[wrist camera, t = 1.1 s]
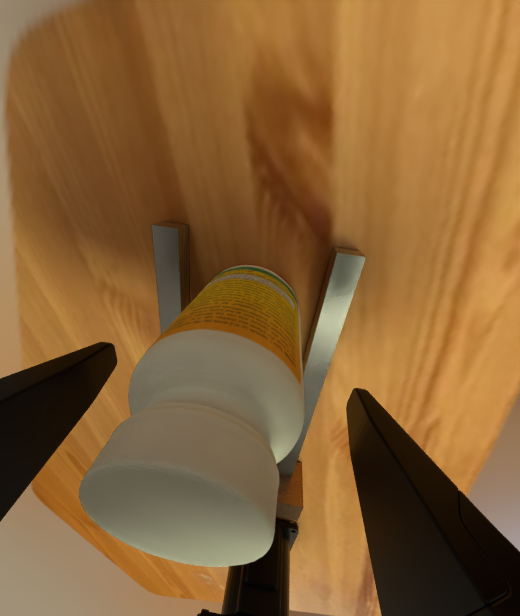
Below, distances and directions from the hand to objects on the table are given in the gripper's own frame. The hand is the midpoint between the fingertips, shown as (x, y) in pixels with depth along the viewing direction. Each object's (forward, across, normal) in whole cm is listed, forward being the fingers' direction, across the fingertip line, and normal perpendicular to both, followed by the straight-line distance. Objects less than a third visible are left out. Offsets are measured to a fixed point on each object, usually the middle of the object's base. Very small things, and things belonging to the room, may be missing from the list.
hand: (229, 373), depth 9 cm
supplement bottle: (+5, 0, 0) cm, 5 cm away
